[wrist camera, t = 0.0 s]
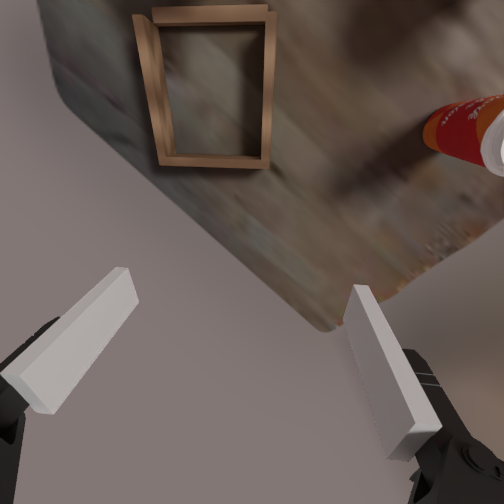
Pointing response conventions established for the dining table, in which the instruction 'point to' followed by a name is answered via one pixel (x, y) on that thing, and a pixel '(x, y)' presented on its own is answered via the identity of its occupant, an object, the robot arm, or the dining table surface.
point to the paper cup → (470, 132)
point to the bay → (158, 89)
